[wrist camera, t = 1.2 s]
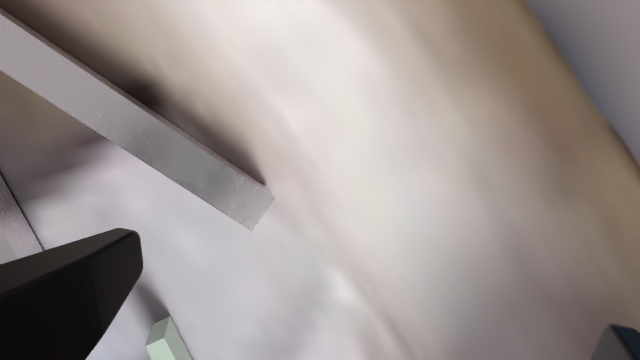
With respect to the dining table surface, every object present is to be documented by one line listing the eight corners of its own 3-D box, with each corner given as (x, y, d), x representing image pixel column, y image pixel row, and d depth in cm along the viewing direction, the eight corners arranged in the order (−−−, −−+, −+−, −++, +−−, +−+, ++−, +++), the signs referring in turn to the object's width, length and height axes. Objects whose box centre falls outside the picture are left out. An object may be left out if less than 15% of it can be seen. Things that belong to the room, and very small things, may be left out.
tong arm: (244, 226, 26) (246, 240, 23) (-115, -4, 21) (-165, -20, 19) (275, 182, 26) (281, 191, 23) (-78, -58, 21) (-122, -83, 19)
